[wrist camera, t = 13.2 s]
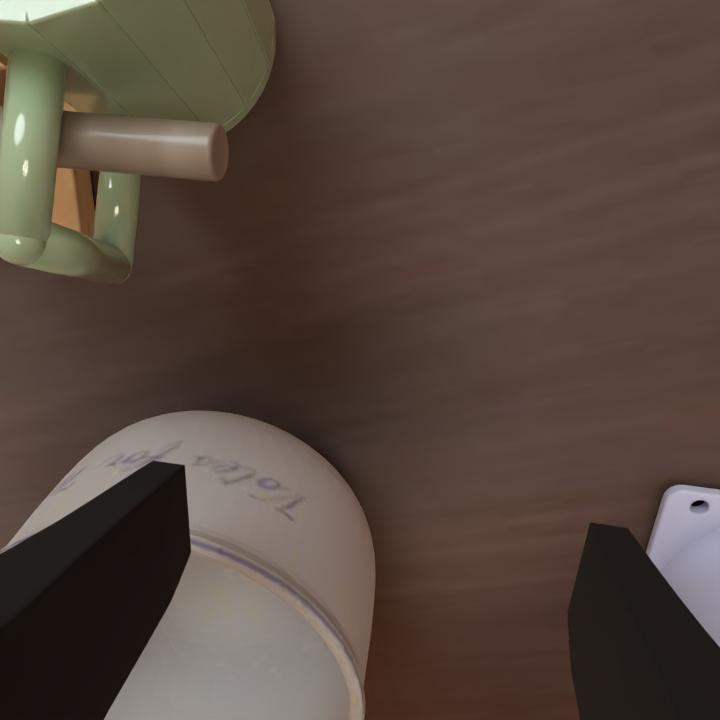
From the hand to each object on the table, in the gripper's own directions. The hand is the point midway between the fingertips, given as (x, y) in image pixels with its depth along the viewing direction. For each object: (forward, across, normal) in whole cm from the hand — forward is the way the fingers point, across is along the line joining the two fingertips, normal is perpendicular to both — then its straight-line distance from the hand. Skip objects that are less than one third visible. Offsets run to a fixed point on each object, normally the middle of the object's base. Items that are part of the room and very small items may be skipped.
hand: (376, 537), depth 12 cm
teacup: (+10, +7, +8) cm, 14 cm away
